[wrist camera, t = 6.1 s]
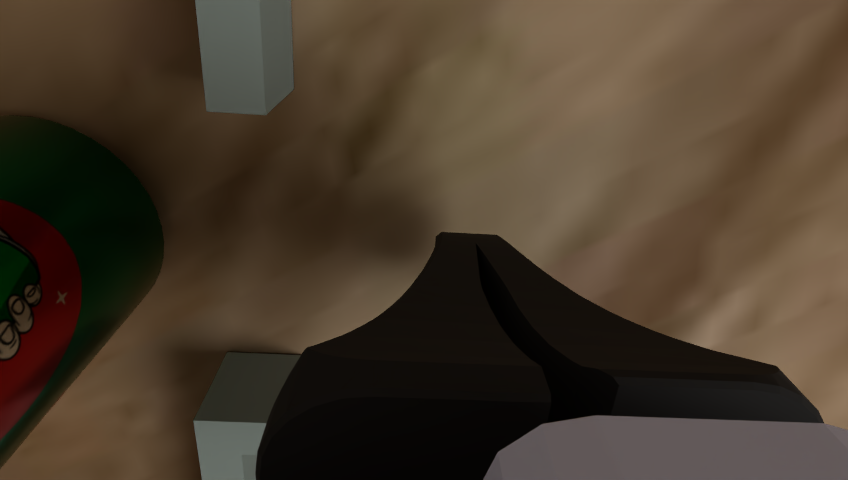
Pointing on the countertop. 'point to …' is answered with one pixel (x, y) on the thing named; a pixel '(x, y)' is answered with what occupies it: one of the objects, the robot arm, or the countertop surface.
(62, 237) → the soda can
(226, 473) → the corral
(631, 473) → the robot arm
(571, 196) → the countertop surface
